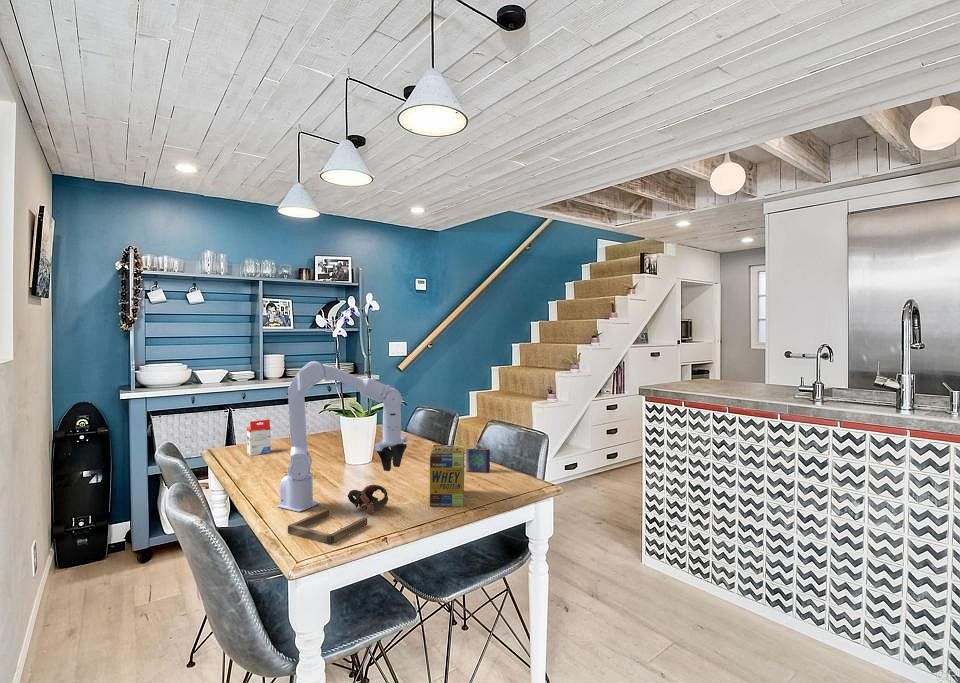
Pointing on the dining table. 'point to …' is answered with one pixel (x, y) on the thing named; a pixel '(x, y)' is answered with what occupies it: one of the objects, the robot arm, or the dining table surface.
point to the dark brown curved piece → (368, 498)
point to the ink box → (258, 438)
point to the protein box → (447, 475)
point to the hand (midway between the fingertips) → (391, 468)
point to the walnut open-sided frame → (304, 532)
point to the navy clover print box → (478, 459)
